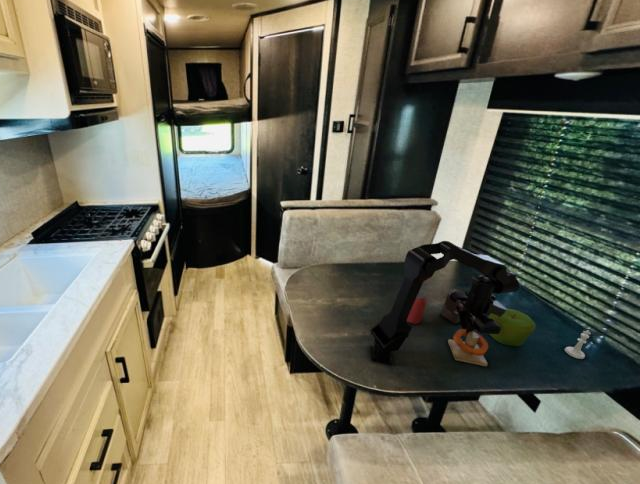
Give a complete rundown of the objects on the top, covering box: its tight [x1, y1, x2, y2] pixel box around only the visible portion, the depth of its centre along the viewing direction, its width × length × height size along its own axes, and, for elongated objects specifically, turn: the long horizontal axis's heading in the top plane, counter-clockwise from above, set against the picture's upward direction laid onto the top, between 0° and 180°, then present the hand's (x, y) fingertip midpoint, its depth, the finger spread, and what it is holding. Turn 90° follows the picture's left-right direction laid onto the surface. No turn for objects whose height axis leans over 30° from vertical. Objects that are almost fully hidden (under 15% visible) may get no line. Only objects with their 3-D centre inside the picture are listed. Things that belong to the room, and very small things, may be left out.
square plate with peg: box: [447, 331, 488, 367], centre depth 105 cm, size 9×9×8 cm
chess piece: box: [564, 329, 592, 360], centre depth 104 cm, size 5×5×10 cm
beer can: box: [407, 289, 428, 324], centre depth 120 cm, size 7×7×12 cm
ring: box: [452, 328, 490, 356], centre depth 105 cm, size 9×9×2 cm
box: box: [440, 287, 463, 325], centre depth 121 cm, size 6×4×12 cm
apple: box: [488, 307, 537, 347], centre depth 110 cm, size 12×12×11 cm
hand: (465, 331), depth 107 cm, fingers closed
